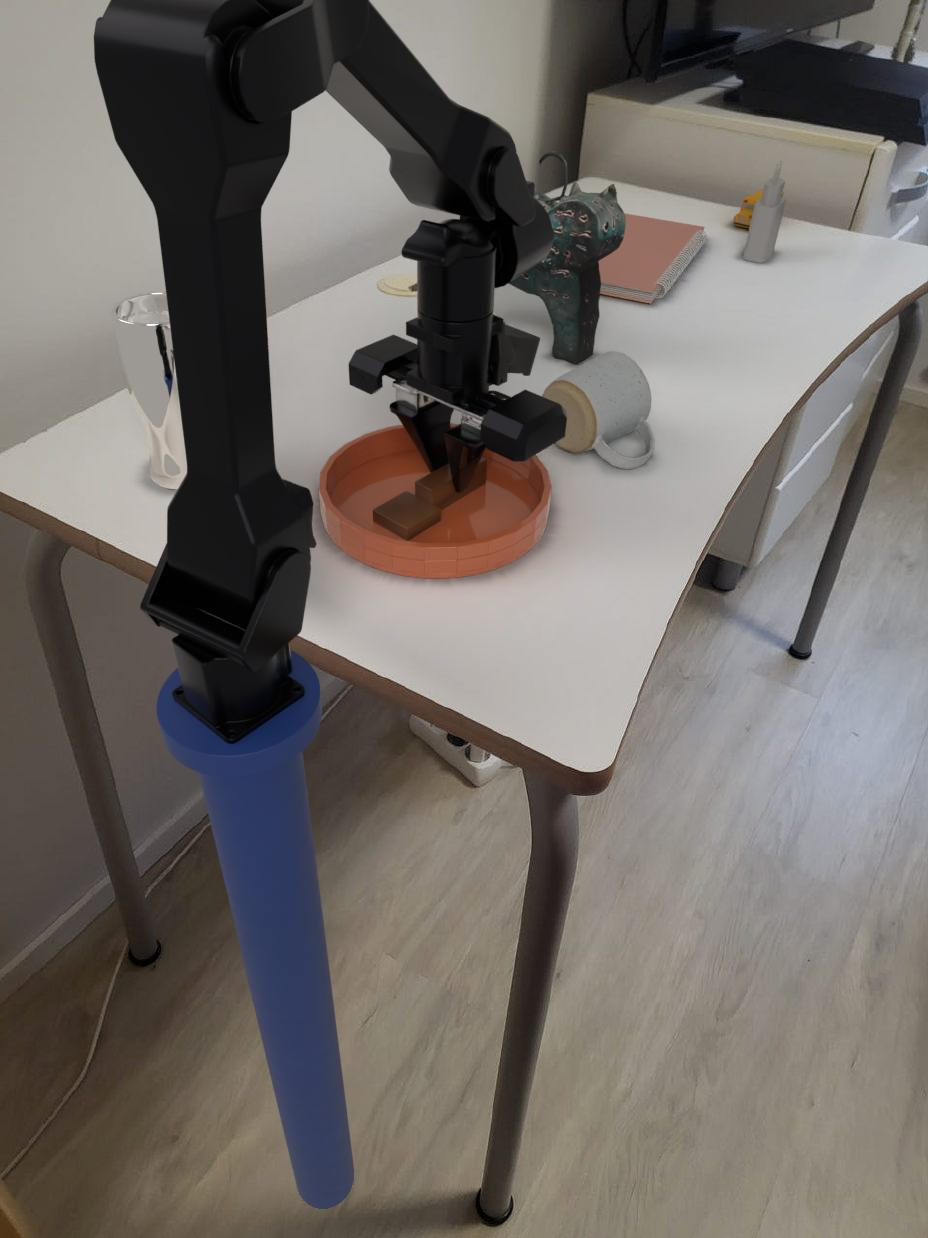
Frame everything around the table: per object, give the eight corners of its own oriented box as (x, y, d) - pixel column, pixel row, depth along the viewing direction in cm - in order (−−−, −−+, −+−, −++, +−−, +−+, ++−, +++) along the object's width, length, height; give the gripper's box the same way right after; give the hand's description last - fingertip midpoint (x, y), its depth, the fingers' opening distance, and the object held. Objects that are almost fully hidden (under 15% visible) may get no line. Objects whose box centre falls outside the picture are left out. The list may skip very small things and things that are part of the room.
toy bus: (730, 226, 139) (736, 199, 136) (760, 211, 144) (766, 185, 142) (750, 231, 137) (756, 204, 135) (779, 216, 143) (785, 190, 140)
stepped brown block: (494, 487, 82) (496, 462, 80) (407, 541, 75) (407, 515, 74) (460, 470, 84) (461, 446, 82) (372, 521, 77) (371, 496, 76)
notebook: (659, 307, 115) (661, 290, 113) (531, 281, 120) (532, 266, 118) (709, 240, 134) (712, 225, 132) (597, 220, 139) (599, 206, 137)
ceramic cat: (611, 357, 104) (638, 162, 91) (578, 376, 100) (602, 176, 87) (472, 307, 113) (478, 124, 100) (437, 323, 109) (439, 135, 96)
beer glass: (202, 443, 87) (174, 283, 77) (240, 475, 83) (216, 310, 73) (131, 467, 83) (93, 302, 74) (167, 502, 79) (132, 333, 70)
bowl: (442, 611, 70) (443, 580, 68) (274, 511, 79) (270, 480, 77) (592, 507, 81) (596, 477, 79) (429, 429, 90) (429, 401, 88)
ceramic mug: (530, 438, 89) (537, 363, 84) (587, 411, 94) (597, 338, 89) (615, 485, 84) (629, 408, 79) (671, 454, 88) (687, 379, 83)
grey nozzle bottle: (774, 252, 131) (797, 159, 123) (763, 263, 127) (785, 168, 120) (752, 247, 132) (773, 155, 124) (741, 258, 128) (762, 164, 121)
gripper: (620, 312, 70) (594, 489, 80) (436, 249, 79) (434, 415, 89) (528, 359, 64) (513, 545, 74) (339, 284, 73) (349, 459, 83)
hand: (451, 485), depth 80 cm, fingers closed on stepped brown block, 2 cm apart
